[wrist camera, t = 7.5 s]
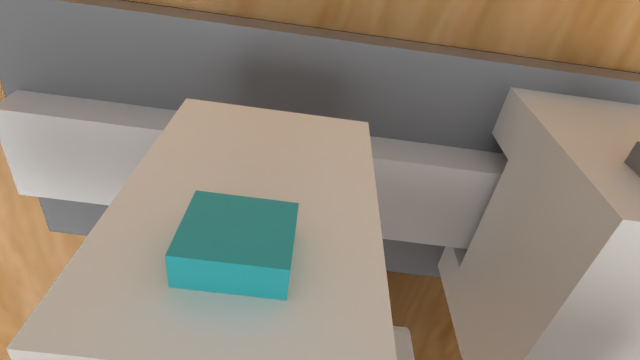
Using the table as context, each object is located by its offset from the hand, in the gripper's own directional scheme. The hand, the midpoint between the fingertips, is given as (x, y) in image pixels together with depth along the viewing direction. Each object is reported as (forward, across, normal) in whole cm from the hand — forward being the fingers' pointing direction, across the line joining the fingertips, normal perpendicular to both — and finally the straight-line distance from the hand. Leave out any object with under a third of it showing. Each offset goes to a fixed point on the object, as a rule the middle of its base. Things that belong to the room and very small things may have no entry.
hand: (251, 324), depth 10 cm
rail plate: (+8, +1, 0) cm, 8 cm away
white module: (+3, 0, 0) cm, 3 cm away
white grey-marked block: (+7, +10, 0) cm, 12 cm away
